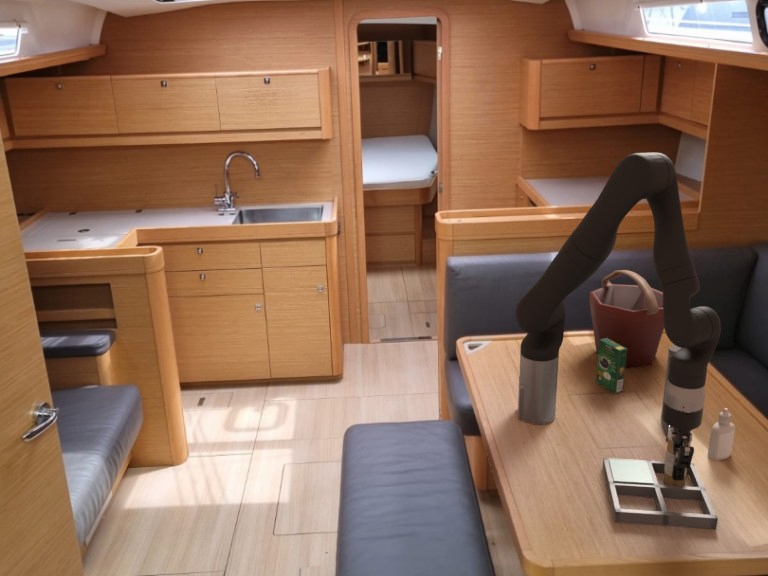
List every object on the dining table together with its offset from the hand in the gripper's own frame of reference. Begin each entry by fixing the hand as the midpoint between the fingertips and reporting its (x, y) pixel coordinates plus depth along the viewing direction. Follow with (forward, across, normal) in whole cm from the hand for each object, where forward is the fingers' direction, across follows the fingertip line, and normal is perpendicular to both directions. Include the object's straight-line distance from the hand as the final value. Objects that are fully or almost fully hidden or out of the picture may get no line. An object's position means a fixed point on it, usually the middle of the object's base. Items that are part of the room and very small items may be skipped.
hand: (675, 472), depth 154 cm
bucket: (+3, -64, 0) cm, 65 cm away
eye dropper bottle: (+3, -12, +12) cm, 18 cm away
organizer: (+3, +4, -4) cm, 7 cm away
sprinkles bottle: (+3, 0, 0) cm, 3 cm away
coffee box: (+3, -44, -8) cm, 44 cm away
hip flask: (+3, -26, +4) cm, 27 cm away
